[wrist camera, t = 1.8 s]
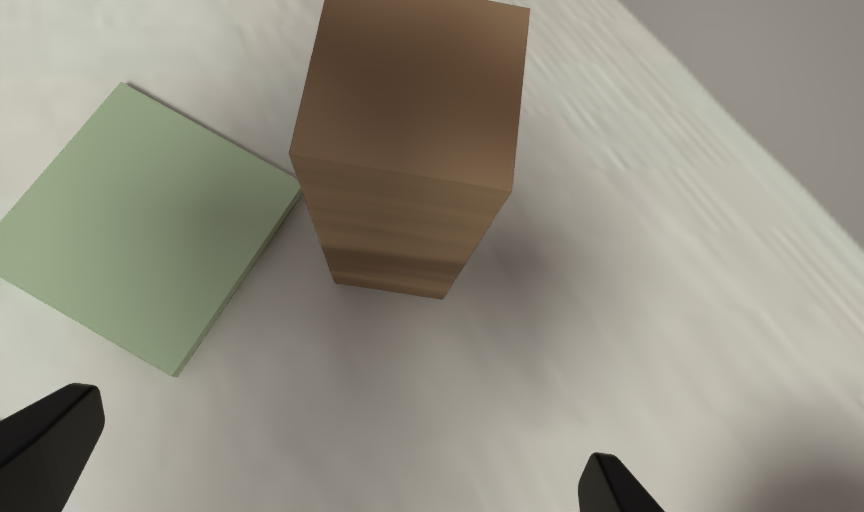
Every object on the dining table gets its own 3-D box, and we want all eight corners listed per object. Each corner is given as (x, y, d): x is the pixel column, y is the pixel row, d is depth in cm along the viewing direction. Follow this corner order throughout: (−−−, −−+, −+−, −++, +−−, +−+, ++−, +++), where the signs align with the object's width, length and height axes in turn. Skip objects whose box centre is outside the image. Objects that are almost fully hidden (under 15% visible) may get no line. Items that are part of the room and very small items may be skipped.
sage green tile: (307, 192, 26) (303, 182, 24) (181, 377, 23) (171, 376, 22) (132, 96, 26) (121, 81, 25) (-12, 265, 23) (-32, 258, 22)
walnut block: (442, 299, 24) (512, 190, 12) (334, 282, 24) (289, 153, 12) (455, 199, 26) (530, 8, 13) (353, 182, 25) (331, -30, 13)
